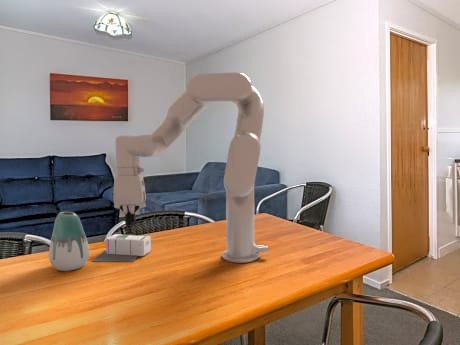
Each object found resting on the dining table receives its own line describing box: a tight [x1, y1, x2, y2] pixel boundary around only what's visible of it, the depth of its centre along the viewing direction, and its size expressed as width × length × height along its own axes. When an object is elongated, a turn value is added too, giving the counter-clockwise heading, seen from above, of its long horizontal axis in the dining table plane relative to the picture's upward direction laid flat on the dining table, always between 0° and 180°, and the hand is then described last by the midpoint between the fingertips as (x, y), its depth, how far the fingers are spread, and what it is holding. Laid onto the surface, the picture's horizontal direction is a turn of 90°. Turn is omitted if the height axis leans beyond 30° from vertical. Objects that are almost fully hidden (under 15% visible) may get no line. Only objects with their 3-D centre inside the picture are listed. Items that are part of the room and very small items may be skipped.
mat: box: [91, 249, 139, 263], centre depth 118 cm, size 14×11×1 cm
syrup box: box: [105, 233, 152, 257], centre depth 120 cm, size 6×6×14 cm
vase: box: [48, 211, 90, 272], centre depth 107 cm, size 12×12×18 cm
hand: (130, 224), depth 117 cm, fingers closed
